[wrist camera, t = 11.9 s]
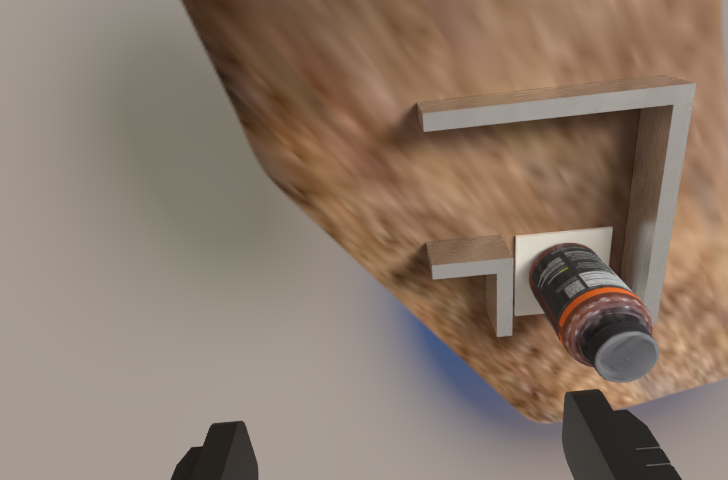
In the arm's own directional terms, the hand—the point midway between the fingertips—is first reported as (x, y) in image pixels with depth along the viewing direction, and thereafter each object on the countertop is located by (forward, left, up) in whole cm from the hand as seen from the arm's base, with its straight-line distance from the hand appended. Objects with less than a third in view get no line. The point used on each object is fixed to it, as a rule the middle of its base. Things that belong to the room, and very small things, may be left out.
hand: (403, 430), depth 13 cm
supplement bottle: (+12, +14, -27) cm, 33 cm away
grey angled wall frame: (+6, +11, -27) cm, 30 cm away
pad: (+12, +14, -27) cm, 33 cm away
